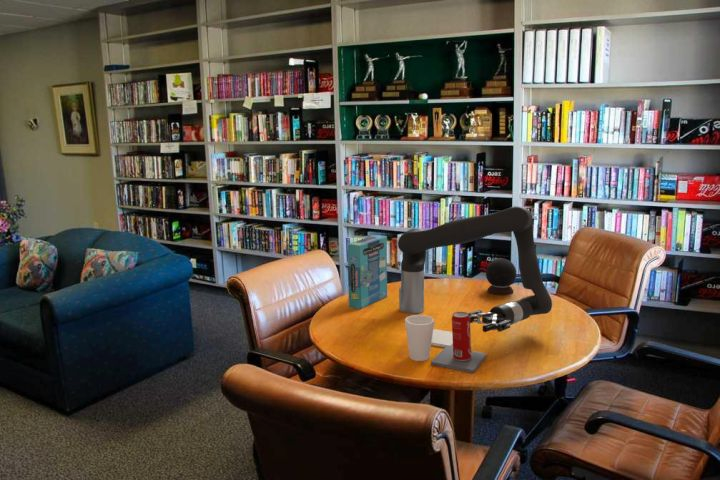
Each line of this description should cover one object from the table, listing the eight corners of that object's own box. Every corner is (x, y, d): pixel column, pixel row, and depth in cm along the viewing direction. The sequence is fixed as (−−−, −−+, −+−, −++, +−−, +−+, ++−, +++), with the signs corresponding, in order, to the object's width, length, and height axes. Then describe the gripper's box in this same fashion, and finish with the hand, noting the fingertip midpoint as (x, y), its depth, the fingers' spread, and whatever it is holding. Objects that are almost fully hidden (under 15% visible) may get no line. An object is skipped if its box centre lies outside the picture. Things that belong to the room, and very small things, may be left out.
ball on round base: (482, 294, 257) (483, 261, 254) (488, 285, 269) (489, 254, 266) (513, 297, 252) (514, 263, 249) (517, 288, 264) (519, 256, 261)
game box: (375, 294, 260) (375, 234, 254) (387, 296, 256) (387, 236, 250) (348, 307, 244) (346, 243, 238) (360, 309, 240) (359, 245, 234)
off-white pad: (417, 342, 206) (417, 339, 205) (430, 331, 216) (430, 328, 216) (450, 348, 200) (450, 345, 200) (461, 336, 210) (461, 333, 210)
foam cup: (403, 352, 198) (403, 315, 195) (430, 350, 198) (430, 314, 196) (407, 363, 188) (407, 325, 186) (436, 362, 189) (436, 324, 186)
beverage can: (471, 362, 186) (472, 318, 183) (450, 361, 187) (451, 316, 184) (471, 354, 192) (472, 311, 188) (451, 353, 193) (452, 310, 190)
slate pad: (431, 364, 188) (431, 361, 187) (446, 348, 200) (446, 346, 199) (473, 373, 181) (473, 370, 181) (486, 356, 193) (486, 353, 193)
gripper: (490, 299, 206) (457, 308, 196) (523, 309, 195) (490, 320, 185) (490, 319, 207) (457, 329, 198) (522, 330, 196) (489, 342, 187)
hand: (473, 325), depth 192 cm, fingers open, 8 cm apart
